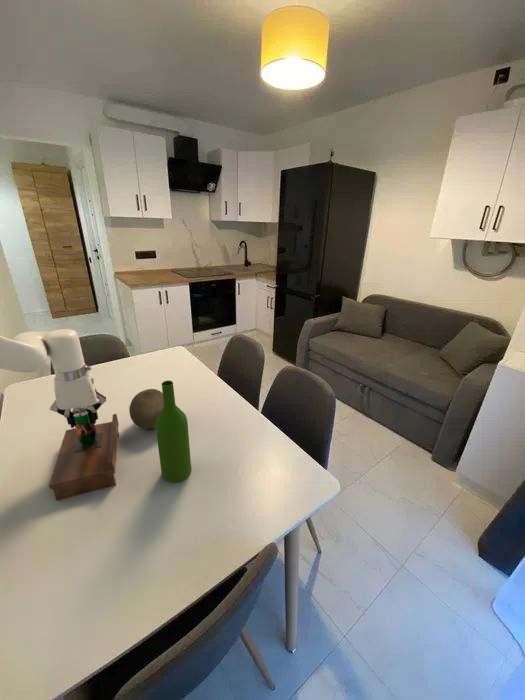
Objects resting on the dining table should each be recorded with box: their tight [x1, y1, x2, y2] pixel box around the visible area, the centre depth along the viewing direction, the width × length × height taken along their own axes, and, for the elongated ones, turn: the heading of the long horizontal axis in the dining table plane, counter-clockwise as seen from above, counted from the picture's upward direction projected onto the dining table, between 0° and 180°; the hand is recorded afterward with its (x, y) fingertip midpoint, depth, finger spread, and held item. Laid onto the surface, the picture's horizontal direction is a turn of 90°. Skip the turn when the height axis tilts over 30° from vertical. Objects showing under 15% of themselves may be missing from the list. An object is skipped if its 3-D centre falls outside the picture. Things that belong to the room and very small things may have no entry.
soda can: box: [71, 406, 97, 444], centre depth 91 cm, size 5×5×12 cm
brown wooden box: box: [48, 413, 120, 501], centre depth 92 cm, size 16×24×9 cm, turn 22°
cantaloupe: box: [128, 388, 164, 430], centre depth 108 cm, size 14×14×15 cm
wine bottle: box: [154, 380, 192, 484], centre depth 85 cm, size 9×9×32 cm
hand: (84, 422), depth 90 cm, fingers closed on soda can, 5 cm apart
